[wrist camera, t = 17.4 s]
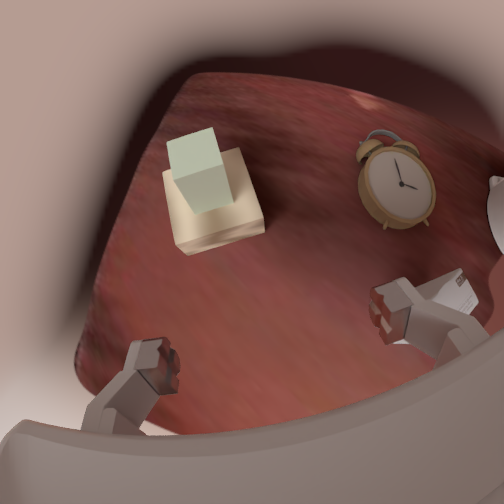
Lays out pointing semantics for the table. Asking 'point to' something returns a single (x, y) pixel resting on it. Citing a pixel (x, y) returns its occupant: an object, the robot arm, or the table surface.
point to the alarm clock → (395, 183)
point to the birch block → (216, 211)
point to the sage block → (199, 171)
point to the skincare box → (449, 293)
